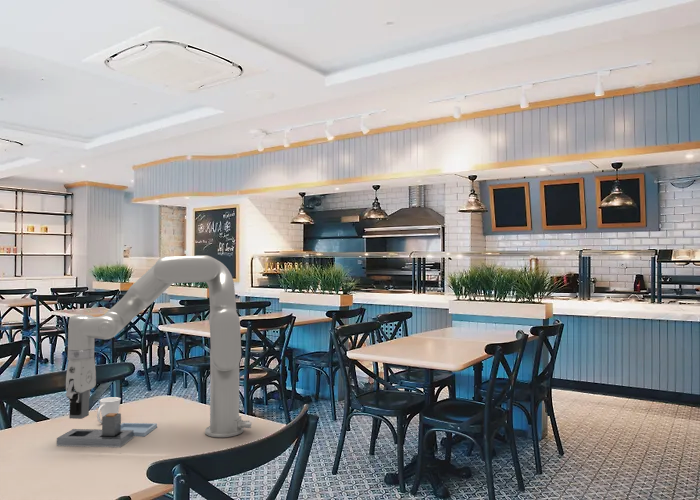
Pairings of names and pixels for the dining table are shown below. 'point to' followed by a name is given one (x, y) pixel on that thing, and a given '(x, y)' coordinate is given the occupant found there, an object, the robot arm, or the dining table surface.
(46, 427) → the dining table surface
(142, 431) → the tray
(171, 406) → the dining table surface
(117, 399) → the cup
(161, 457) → the dining table surface
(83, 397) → the plug
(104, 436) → the grey socket
